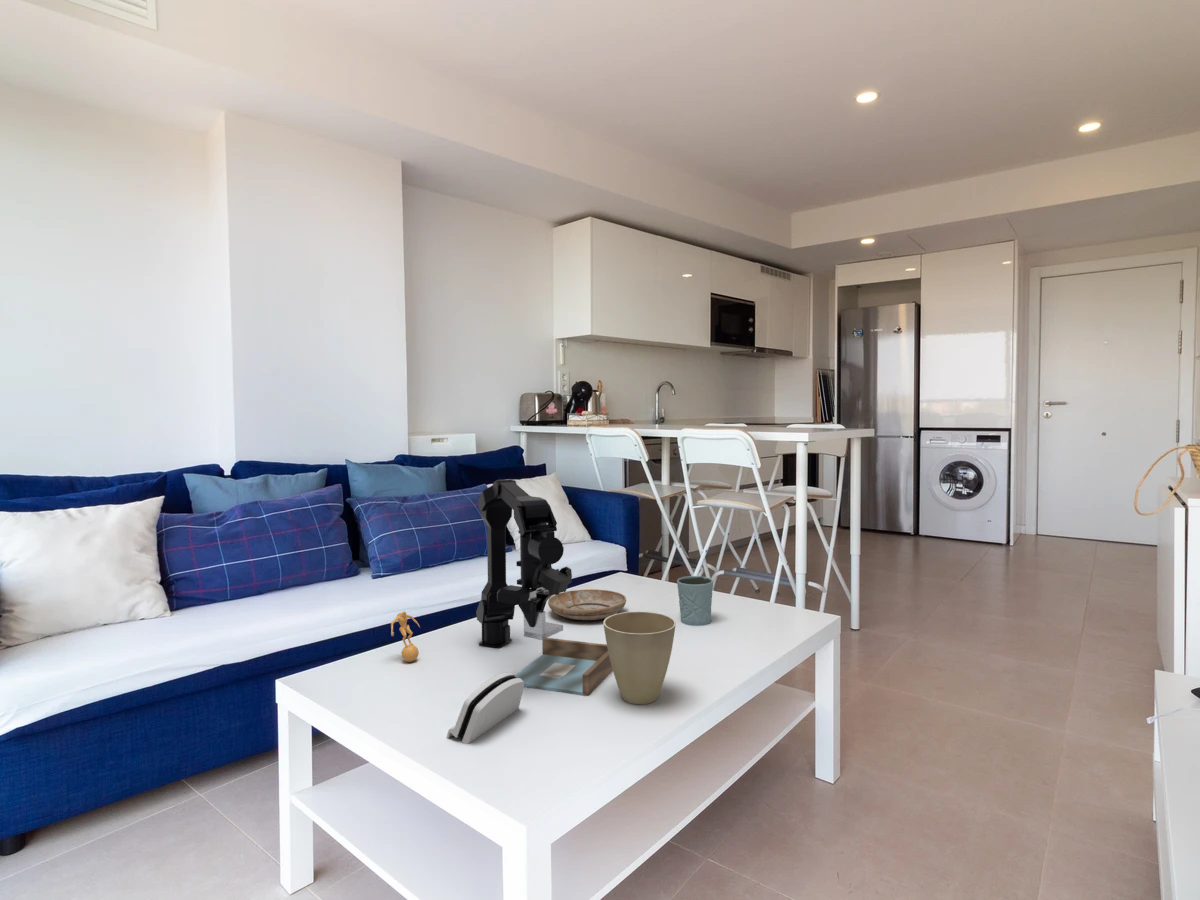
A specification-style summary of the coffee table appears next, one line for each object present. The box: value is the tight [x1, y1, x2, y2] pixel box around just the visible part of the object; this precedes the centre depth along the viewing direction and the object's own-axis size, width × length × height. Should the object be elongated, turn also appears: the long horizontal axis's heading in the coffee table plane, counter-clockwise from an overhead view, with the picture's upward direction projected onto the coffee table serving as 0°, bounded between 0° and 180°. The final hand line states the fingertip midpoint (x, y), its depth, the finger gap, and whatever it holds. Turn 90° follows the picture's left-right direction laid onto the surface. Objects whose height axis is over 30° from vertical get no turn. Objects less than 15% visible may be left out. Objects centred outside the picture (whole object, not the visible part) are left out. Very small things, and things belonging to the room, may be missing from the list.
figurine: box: [390, 610, 421, 663], centre depth 160 cm, size 8×6×12 cm
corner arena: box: [514, 637, 613, 697], centre depth 151 cm, size 19×19×4 cm
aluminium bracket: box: [523, 610, 564, 641], centre depth 150 cm, size 8×5×6 cm, turn 148°
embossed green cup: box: [676, 575, 714, 627], centre depth 189 cm, size 10×10×12 cm
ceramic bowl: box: [547, 589, 627, 621], centre depth 198 cm, size 23×24×5 cm
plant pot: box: [602, 611, 677, 705], centre depth 137 cm, size 15×15×16 cm
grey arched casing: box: [446, 672, 525, 745], centre depth 126 cm, size 17×5×10 cm, turn 153°
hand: (534, 626), depth 147 cm, fingers closed on aluminium bracket
